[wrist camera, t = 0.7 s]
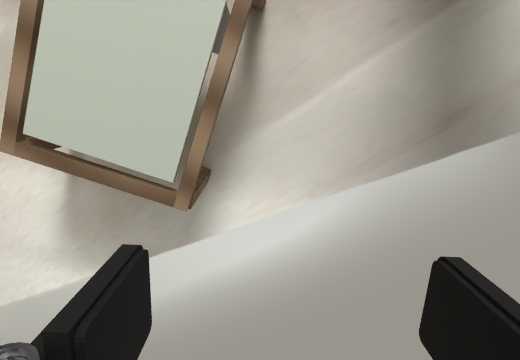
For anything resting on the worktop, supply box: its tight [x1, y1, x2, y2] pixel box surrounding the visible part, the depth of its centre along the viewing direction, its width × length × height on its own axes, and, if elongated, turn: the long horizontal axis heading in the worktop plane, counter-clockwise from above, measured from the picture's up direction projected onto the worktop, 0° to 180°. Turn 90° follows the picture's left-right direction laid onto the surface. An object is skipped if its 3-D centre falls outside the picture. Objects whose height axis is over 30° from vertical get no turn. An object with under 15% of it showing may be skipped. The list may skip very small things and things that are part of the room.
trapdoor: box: [23, 0, 230, 183], centre depth 27 cm, size 15×13×5 cm
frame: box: [0, 0, 265, 211], centre depth 30 cm, size 22×17×11 cm
